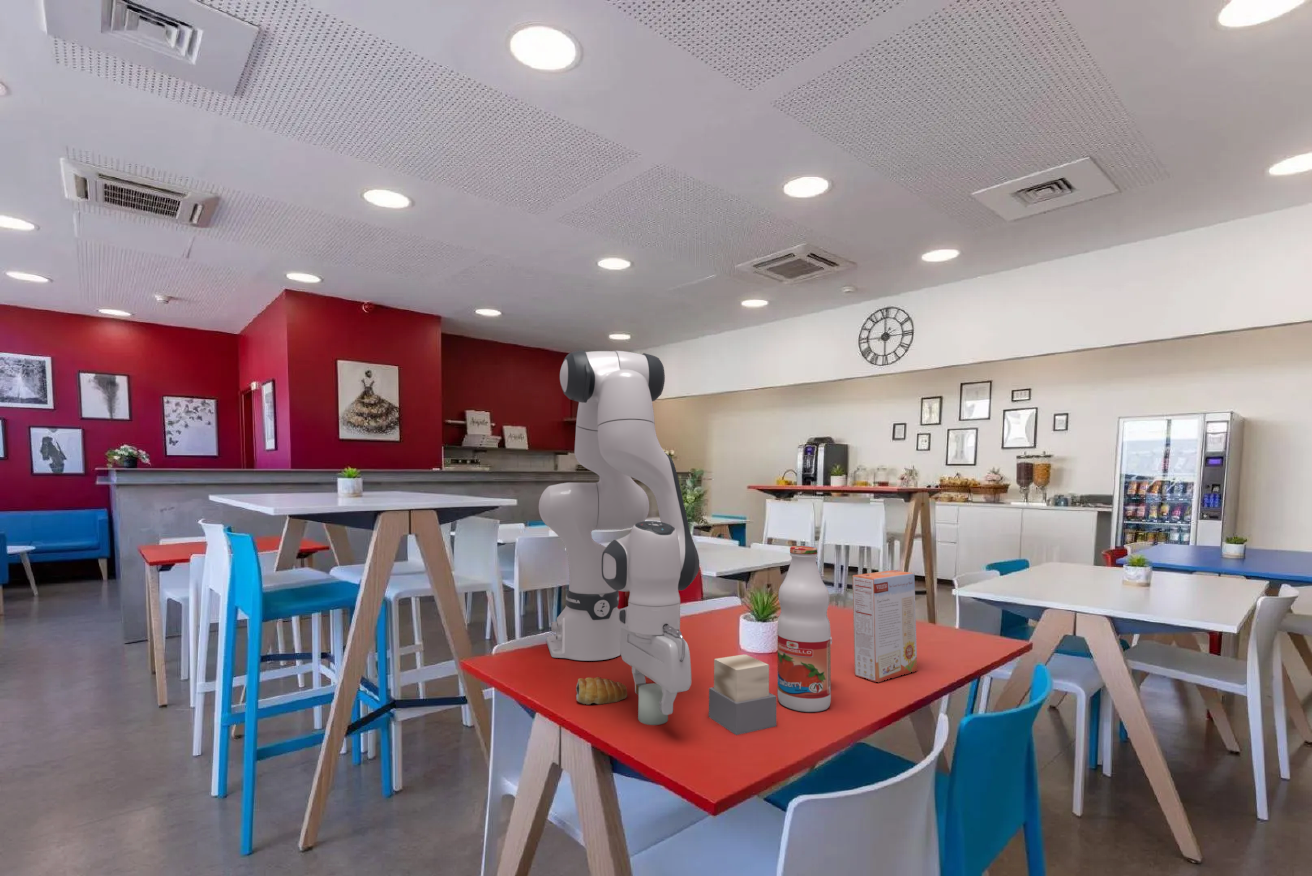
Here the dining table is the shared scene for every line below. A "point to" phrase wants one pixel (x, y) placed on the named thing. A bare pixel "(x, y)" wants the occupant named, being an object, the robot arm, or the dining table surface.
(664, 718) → the grey round cylinder
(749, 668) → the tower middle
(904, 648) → the cracker box
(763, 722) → the tower base
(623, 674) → the dining table surface
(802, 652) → the fruit juice
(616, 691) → the pastry
